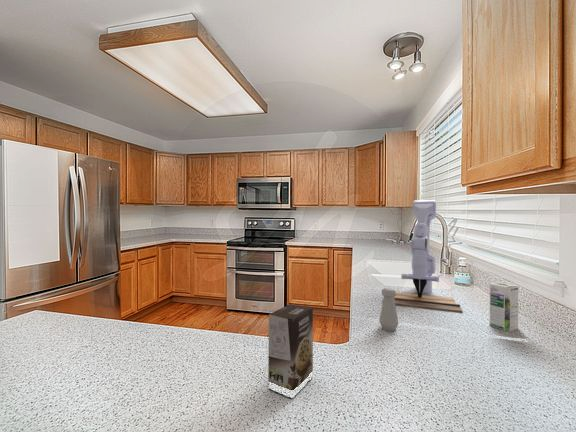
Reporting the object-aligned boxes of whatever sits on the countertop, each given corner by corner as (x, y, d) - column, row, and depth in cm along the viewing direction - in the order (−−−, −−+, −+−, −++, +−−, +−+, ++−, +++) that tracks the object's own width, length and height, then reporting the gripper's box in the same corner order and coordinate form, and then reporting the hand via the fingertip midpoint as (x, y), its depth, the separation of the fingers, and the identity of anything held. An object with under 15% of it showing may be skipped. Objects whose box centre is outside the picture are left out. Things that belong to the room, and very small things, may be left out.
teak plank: (388, 294, 132) (388, 291, 132) (453, 301, 122) (453, 297, 122) (386, 301, 123) (386, 297, 123) (456, 308, 113) (456, 305, 113)
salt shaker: (378, 330, 92) (378, 289, 92) (379, 324, 97) (379, 285, 97) (398, 333, 90) (398, 291, 90) (398, 326, 95) (398, 287, 95)
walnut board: (383, 301, 123) (383, 296, 123) (459, 309, 112) (459, 304, 112) (382, 305, 117) (382, 300, 117) (462, 314, 106) (462, 309, 106)
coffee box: (293, 400, 57) (293, 319, 57) (267, 390, 61) (267, 313, 61) (314, 378, 65) (314, 307, 65) (289, 370, 69) (289, 302, 69)
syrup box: (488, 327, 94) (488, 283, 94) (499, 324, 97) (499, 281, 97) (508, 334, 89) (508, 287, 89) (519, 331, 92) (519, 285, 91)
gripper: (401, 265, 123) (401, 297, 123) (439, 268, 117) (439, 301, 117) (401, 262, 129) (401, 293, 129) (438, 265, 123) (438, 296, 123)
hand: (419, 296), depth 124 cm, fingers closed, pressing on teak plank
